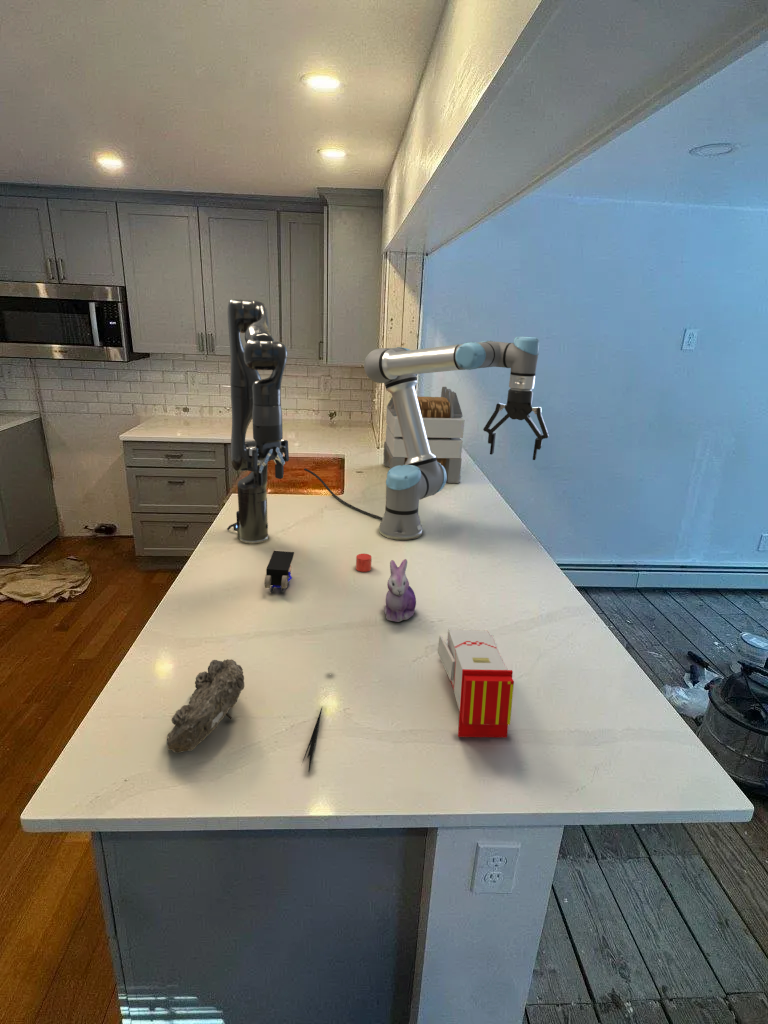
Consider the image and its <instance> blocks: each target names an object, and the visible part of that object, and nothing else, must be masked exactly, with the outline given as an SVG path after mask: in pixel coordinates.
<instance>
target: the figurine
mask: <svg viewBox="0 0 768 1024" xmlns="http://www.w3.org/2000/svg"><path fill="white" fill-rule="evenodd" d="M407 567H408V559H406V558H404V559H403V560H402V561H401V563H400V565H399V566H398V565H397V563H396V562H395V561H394V560H393V559H391V560H390V561H389V570H390V576H389V578H388V579H387V589H388V591H387V592H386V594H385V595H386V596H385V607H384V615H385V616H386V620H387V621H391V622H395V623H400V622H402V621H406V620H409V619H410V618H411V617H413V616H414V615H415V610H416V606H417V597H416V593H415V591H414V590H413V587H411V586H410V582H409V579H408V577H407V574H406V571H407Z"/></svg>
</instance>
